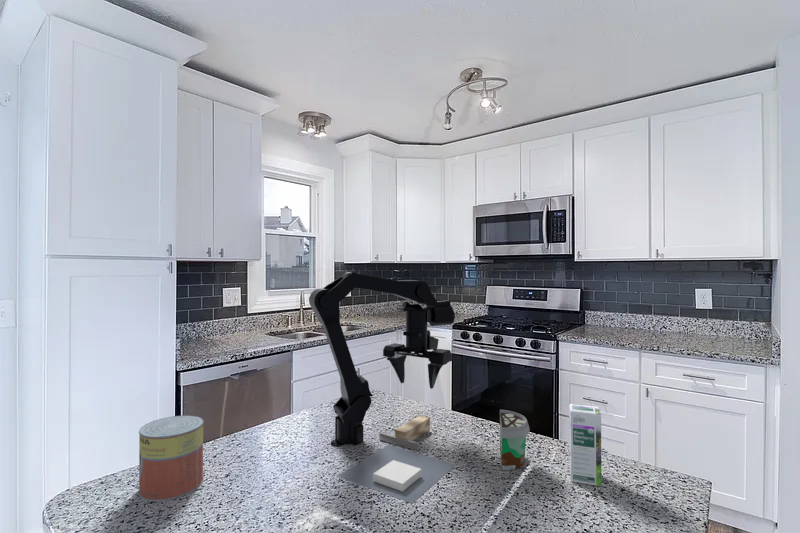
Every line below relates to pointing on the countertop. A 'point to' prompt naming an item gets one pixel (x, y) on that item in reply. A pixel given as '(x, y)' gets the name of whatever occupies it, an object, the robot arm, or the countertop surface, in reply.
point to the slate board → (429, 466)
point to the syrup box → (585, 444)
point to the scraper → (408, 433)
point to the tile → (397, 475)
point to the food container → (512, 439)
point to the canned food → (170, 457)
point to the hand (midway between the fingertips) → (416, 385)
